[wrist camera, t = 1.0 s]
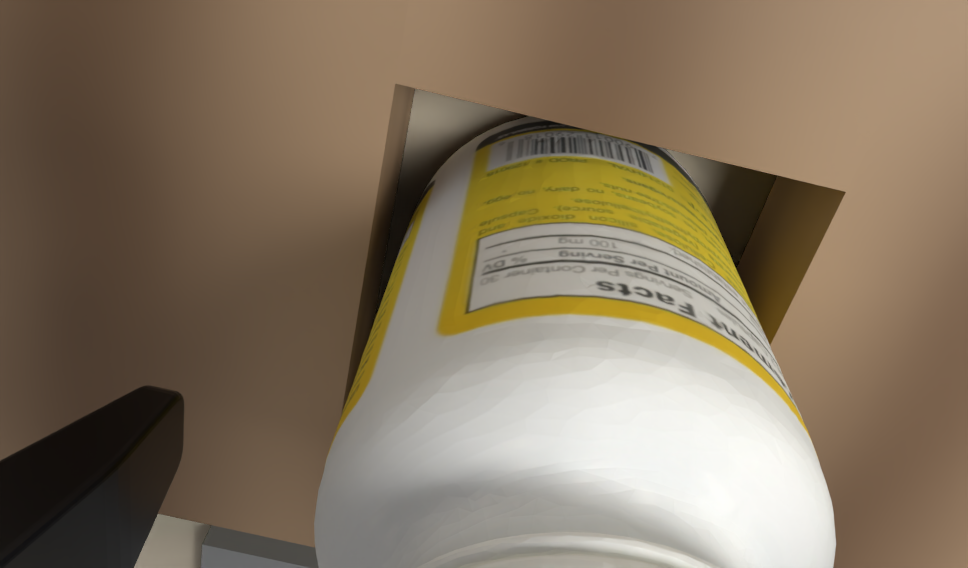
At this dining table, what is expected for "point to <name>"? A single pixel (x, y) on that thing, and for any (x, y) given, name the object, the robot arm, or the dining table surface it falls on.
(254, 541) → the rubber mat
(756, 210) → the dining table surface
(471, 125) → the dining table surface
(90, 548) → the robot arm
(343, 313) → the wooden block with hole
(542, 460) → the supplement bottle
